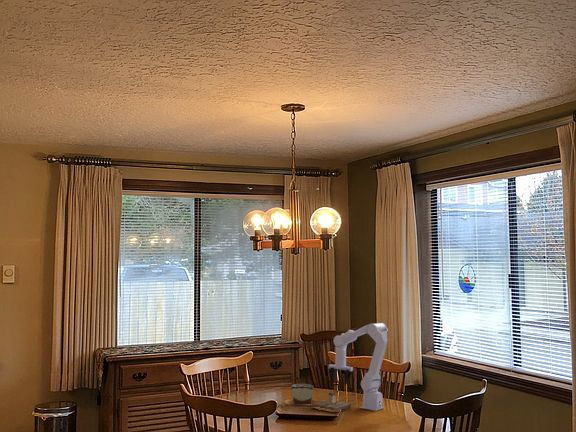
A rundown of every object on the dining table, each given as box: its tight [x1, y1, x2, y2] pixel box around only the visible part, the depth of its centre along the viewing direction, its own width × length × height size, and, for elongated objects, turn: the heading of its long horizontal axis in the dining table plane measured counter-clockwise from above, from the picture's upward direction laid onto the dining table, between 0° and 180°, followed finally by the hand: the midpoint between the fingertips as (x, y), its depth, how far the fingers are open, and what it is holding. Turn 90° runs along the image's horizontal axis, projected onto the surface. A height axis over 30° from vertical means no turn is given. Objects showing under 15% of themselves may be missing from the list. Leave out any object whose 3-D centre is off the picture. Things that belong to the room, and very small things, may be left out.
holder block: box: [312, 399, 352, 413], centre depth 309 cm, size 14×14×2 cm
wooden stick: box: [328, 391, 336, 405], centre depth 309 cm, size 2×2×8 cm
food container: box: [290, 383, 315, 405], centre depth 319 cm, size 12×6×10 cm, turn 84°
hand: (340, 383), depth 326 cm, fingers open, 7 cm apart
